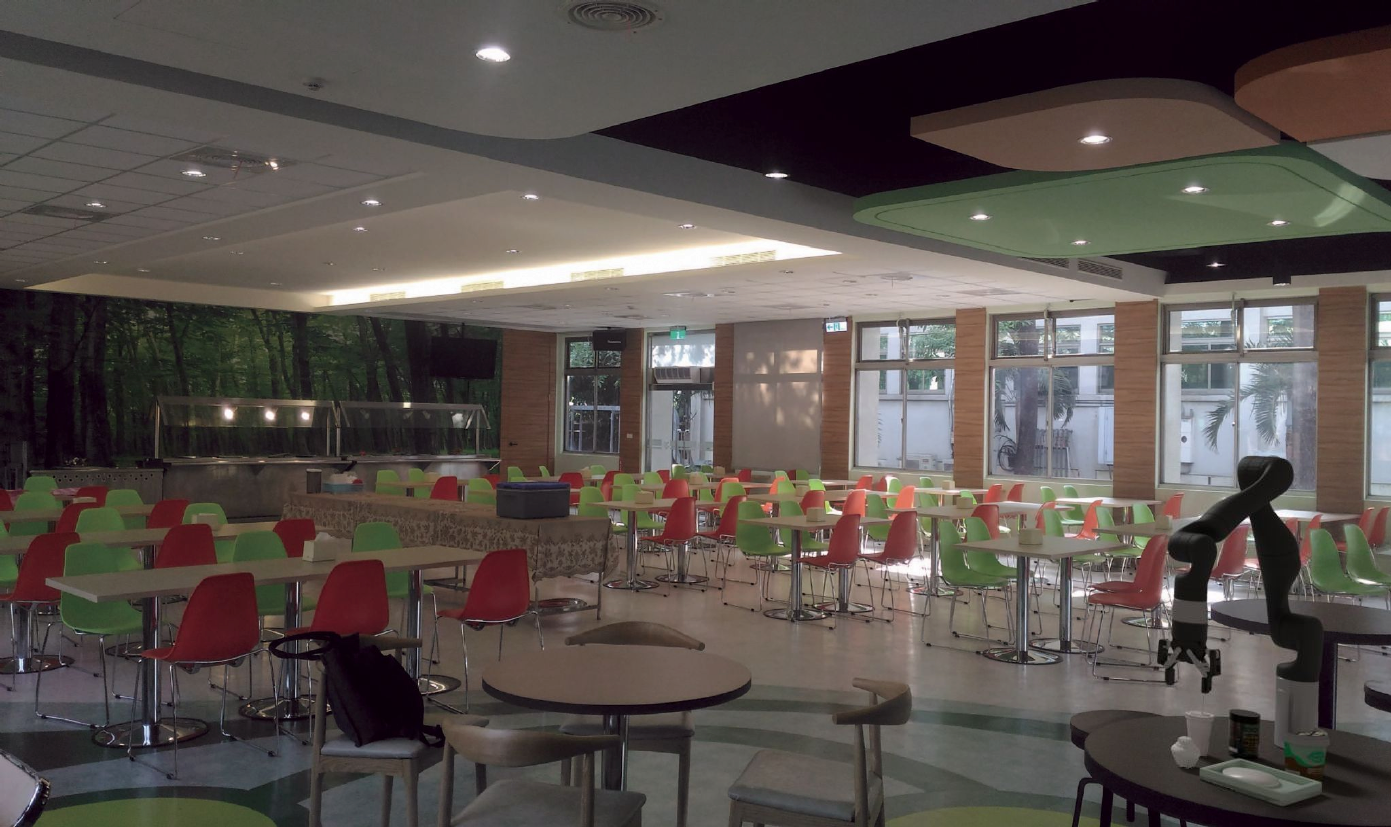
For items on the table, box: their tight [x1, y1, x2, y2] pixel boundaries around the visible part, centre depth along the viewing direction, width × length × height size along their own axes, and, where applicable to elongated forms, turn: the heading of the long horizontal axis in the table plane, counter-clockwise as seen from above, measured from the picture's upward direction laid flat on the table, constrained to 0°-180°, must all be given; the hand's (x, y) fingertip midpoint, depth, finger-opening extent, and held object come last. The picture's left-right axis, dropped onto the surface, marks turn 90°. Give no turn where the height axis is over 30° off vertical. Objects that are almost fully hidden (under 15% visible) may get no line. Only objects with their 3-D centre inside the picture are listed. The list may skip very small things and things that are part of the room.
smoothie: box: [1184, 695, 1215, 757], centre depth 244 cm, size 6×6×14 cm
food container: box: [1282, 727, 1331, 781], centre depth 230 cm, size 12×6×10 cm, turn 117°
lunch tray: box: [1199, 758, 1323, 807], centre depth 222 cm, size 16×18×2 cm
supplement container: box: [1227, 708, 1262, 761], centre depth 244 cm, size 7×7×10 cm
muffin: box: [1170, 735, 1201, 769], centre depth 234 cm, size 6×6×7 cm
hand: (1187, 689), depth 235 cm, fingers open, 8 cm apart
